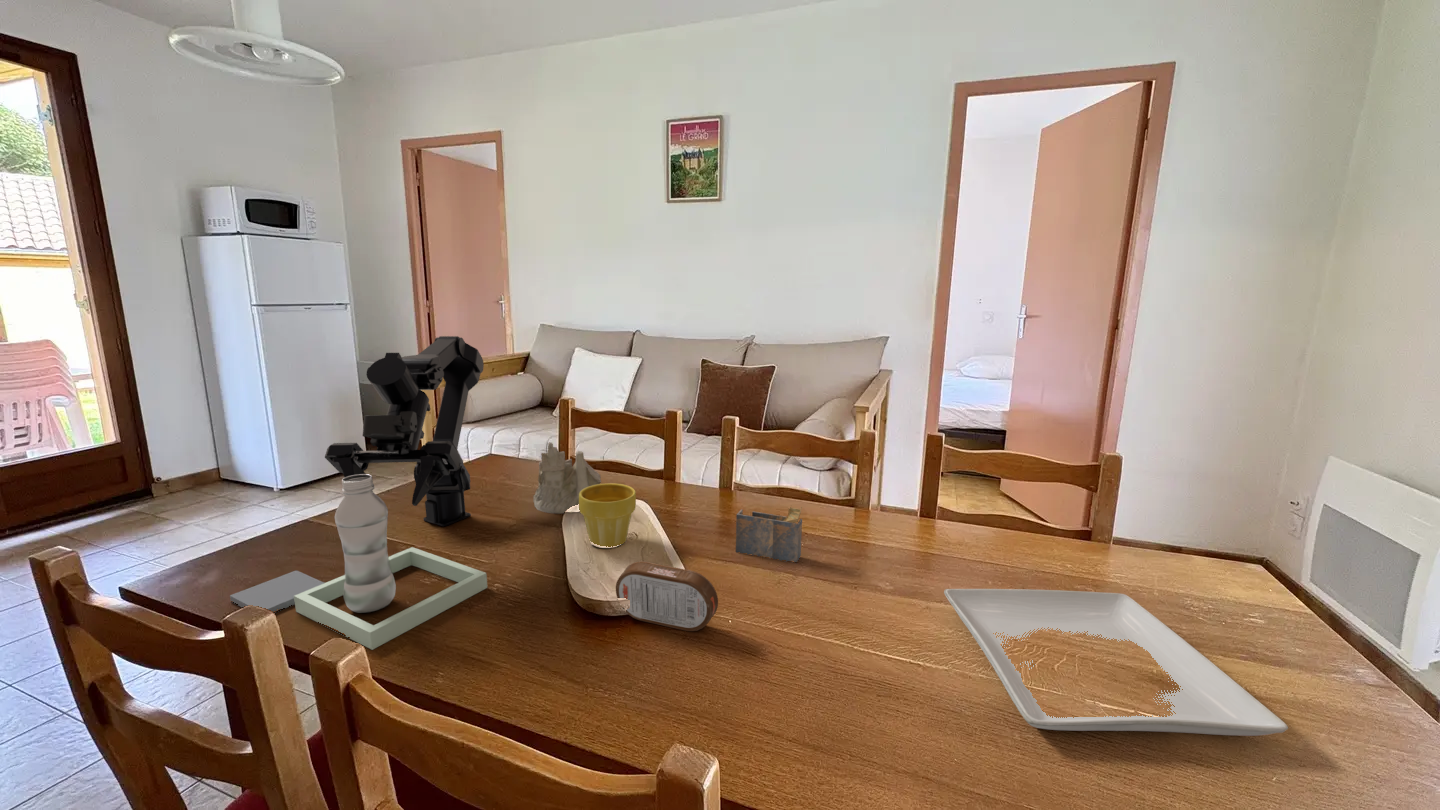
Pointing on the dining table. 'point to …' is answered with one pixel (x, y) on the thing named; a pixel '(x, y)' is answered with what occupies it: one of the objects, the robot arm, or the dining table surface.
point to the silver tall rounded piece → (364, 546)
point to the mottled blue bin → (770, 534)
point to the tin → (667, 595)
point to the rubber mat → (276, 591)
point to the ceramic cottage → (562, 481)
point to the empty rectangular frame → (376, 635)
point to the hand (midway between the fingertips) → (382, 505)
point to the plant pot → (607, 512)
